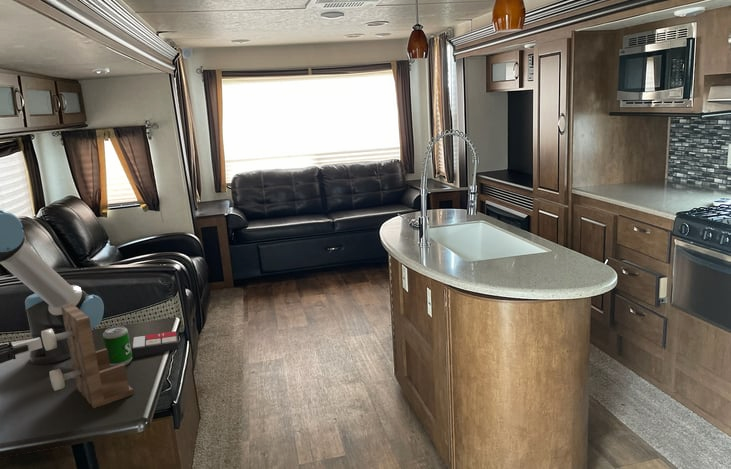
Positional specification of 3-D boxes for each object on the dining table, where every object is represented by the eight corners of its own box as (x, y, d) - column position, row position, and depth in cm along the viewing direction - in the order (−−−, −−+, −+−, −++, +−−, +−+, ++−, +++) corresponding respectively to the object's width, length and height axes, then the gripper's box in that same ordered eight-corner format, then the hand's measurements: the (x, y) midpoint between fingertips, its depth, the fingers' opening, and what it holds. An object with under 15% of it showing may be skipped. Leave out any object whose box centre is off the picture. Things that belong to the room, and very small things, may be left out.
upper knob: (43, 347, 160) (40, 328, 158) (75, 338, 165) (72, 320, 163) (48, 353, 155) (44, 333, 154) (80, 343, 160) (77, 325, 159)
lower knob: (51, 387, 162) (48, 368, 161) (82, 377, 167) (79, 359, 166) (56, 393, 158) (52, 374, 157) (88, 383, 163) (84, 364, 162)
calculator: (178, 340, 196) (131, 347, 191) (179, 352, 196) (132, 359, 192) (177, 329, 206) (132, 335, 201) (178, 341, 207) (133, 347, 202)
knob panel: (76, 387, 172) (60, 306, 167) (114, 375, 179) (100, 296, 174) (93, 408, 159) (77, 320, 153) (133, 394, 166) (119, 309, 160)
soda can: (124, 368, 184) (117, 333, 181) (103, 368, 185) (97, 333, 183) (137, 358, 191) (131, 325, 188) (117, 358, 192) (111, 324, 190)
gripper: (-64, 377, 147) (38, 348, 162) (-60, 394, 137) (48, 362, 152) (-71, 350, 146) (33, 323, 160) (-67, 365, 136) (43, 335, 150)
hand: (40, 342), depth 156 cm, fingers closed
